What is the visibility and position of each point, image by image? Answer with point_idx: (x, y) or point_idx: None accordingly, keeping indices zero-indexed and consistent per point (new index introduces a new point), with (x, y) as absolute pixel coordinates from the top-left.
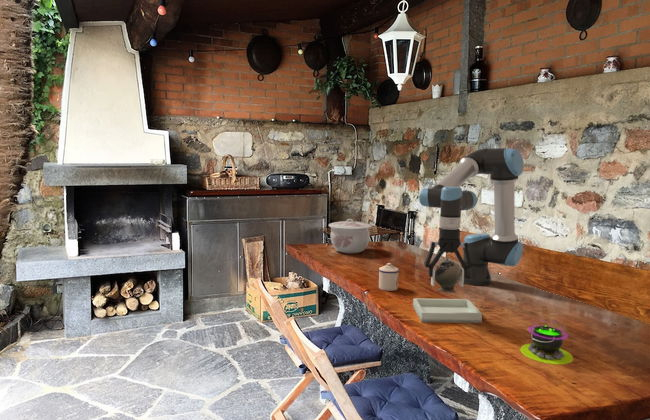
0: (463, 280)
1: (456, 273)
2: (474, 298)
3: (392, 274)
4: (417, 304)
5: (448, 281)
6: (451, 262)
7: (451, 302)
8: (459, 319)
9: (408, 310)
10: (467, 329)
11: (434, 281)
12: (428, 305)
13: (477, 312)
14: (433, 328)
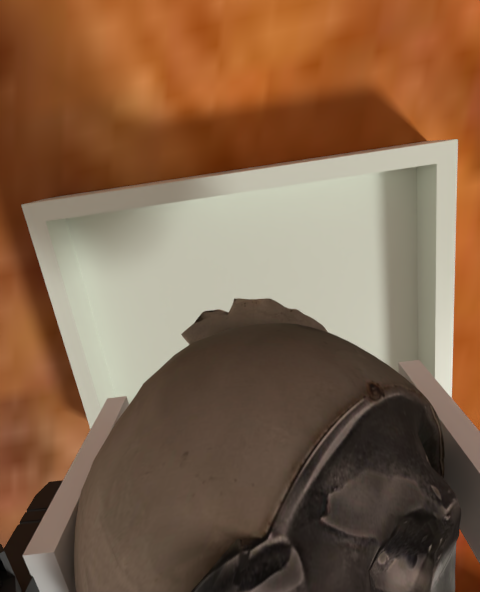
0: (86, 440)
1: (156, 406)
2: None
3: None
4: (449, 318)
5: (276, 323)
6: None
7: None
8: (183, 178)
9: (466, 336)
10: (143, 55)
11: (419, 388)
12: None
13: (53, 241)
14: (367, 27)
